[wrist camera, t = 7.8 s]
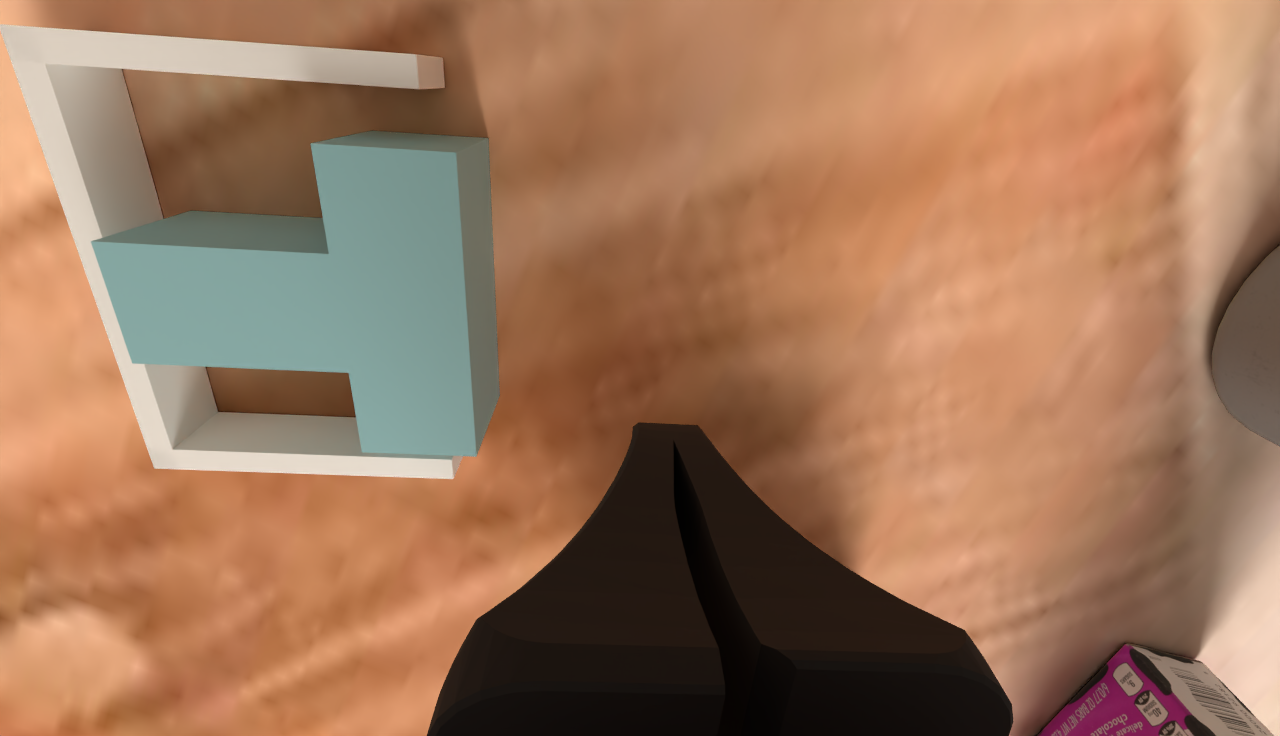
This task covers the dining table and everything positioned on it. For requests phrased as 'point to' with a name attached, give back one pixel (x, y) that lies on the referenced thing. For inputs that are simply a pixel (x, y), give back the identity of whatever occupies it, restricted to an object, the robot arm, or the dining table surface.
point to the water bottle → (1252, 352)
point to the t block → (338, 288)
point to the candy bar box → (1154, 700)
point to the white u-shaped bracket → (126, 198)
